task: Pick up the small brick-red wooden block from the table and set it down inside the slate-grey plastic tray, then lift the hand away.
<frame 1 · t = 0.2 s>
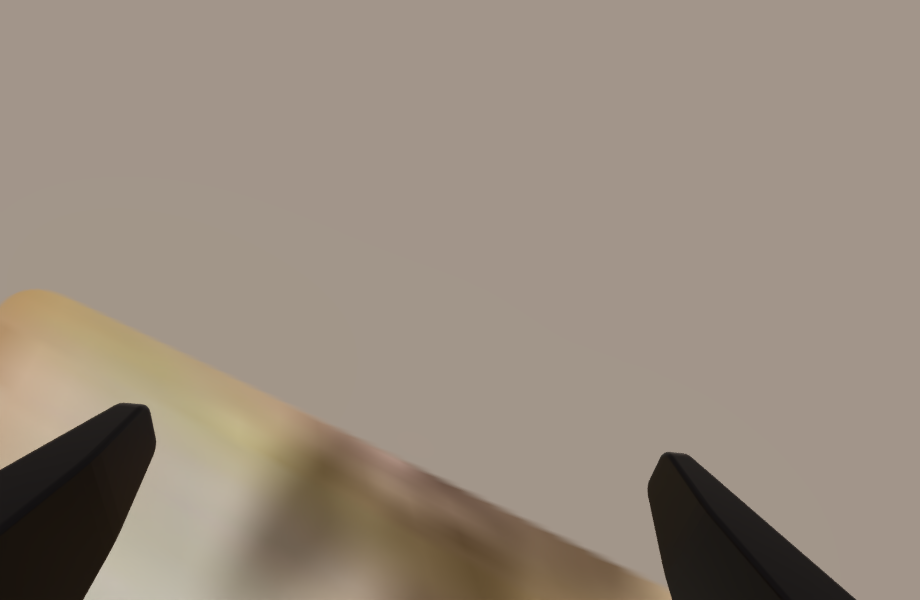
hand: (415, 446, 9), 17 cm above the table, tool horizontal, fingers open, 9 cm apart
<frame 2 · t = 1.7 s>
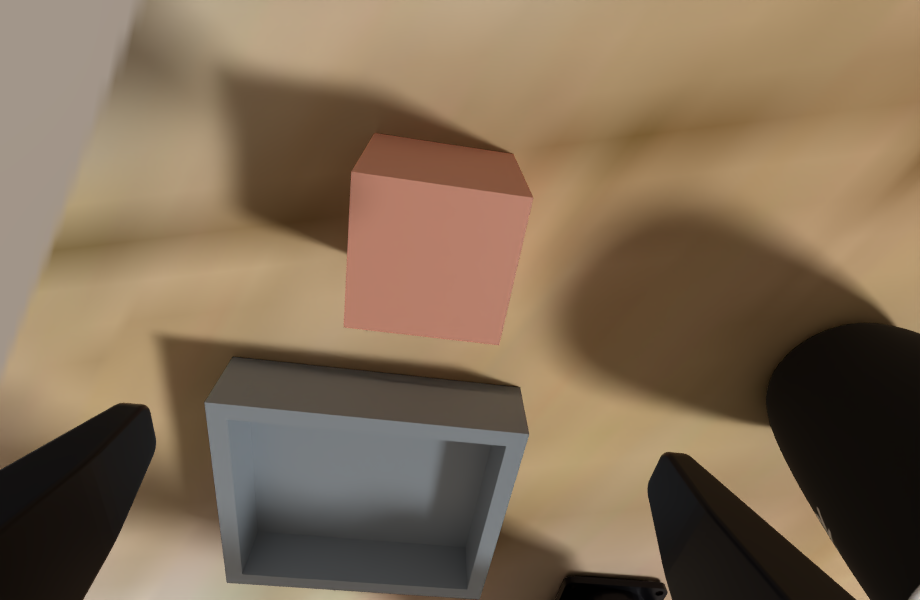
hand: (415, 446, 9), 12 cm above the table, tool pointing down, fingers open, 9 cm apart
tray: (371, 465, 26), on the table
red block: (435, 209, 19), on the table
mug: (853, 386, 24), on the table
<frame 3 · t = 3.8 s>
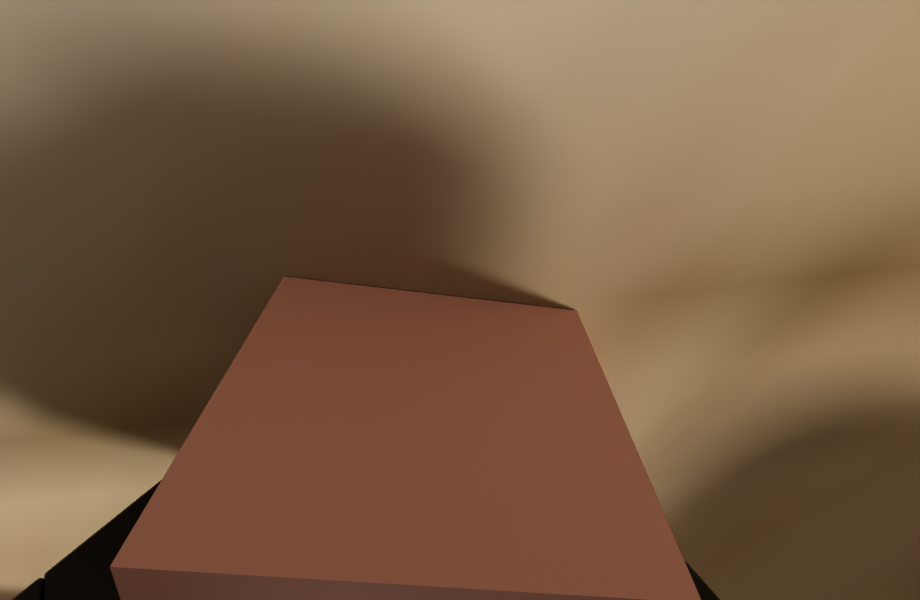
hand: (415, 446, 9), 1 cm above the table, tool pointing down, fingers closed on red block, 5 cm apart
red block: (418, 405, 10), on the table, touching gripper
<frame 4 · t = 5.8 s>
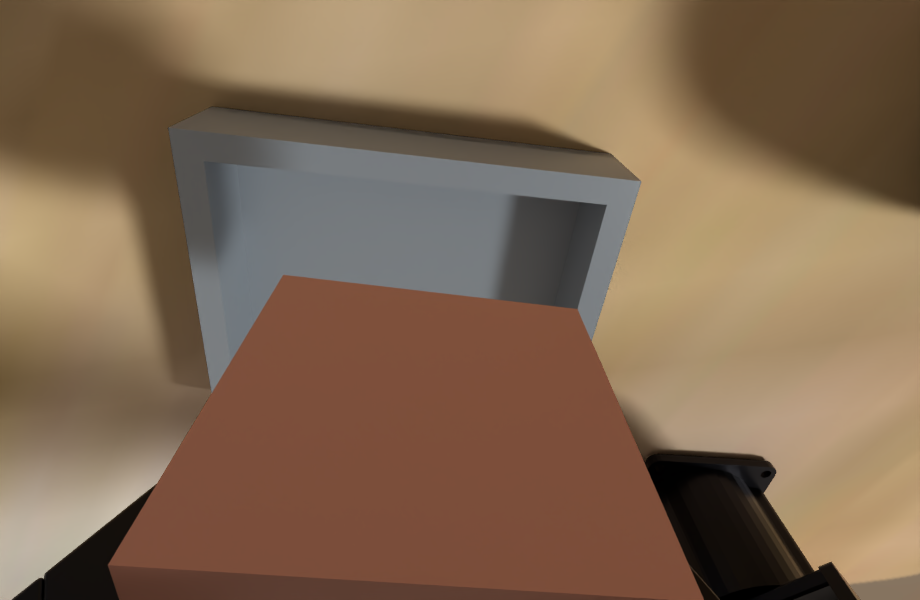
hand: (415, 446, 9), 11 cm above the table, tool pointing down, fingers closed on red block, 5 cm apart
tray: (406, 290, 20), on the table
red block: (418, 404, 10), point 10 cm above the table, touching gripper
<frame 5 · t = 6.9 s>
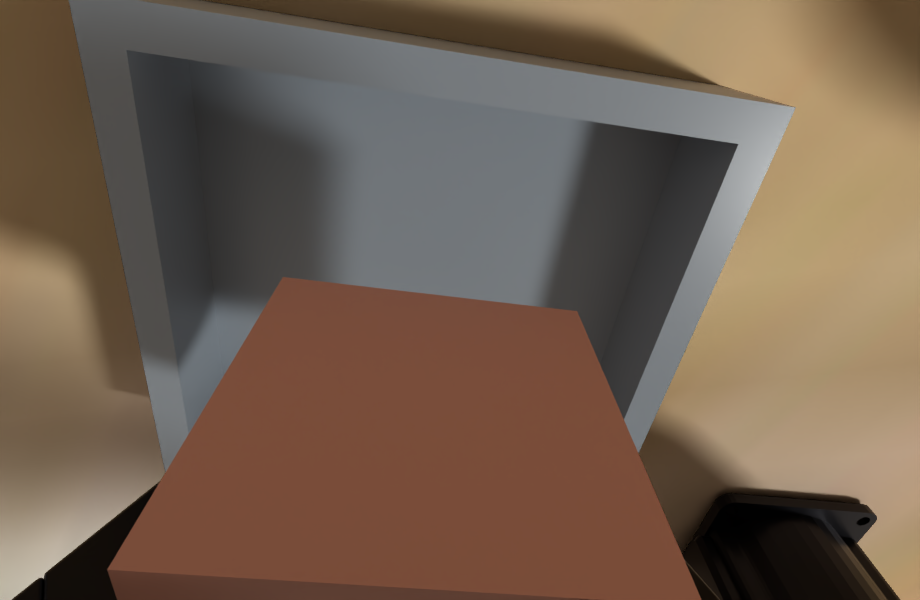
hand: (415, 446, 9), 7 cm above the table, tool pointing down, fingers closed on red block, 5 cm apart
tray: (424, 273, 15), on the table
red block: (418, 406, 10), point 6 cm above the table, touching gripper
when the fingers open (4 cm above the table, at t = 7.8 s): red block drops 2 cm, resting on tray.
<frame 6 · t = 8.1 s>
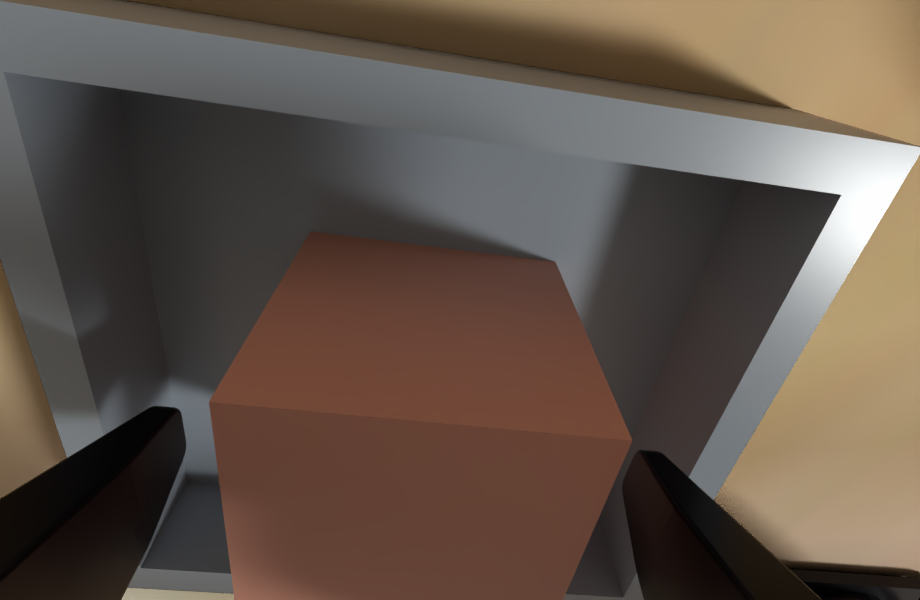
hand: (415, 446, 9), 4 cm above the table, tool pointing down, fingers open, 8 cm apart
tray: (422, 331, 12), on the table
red block: (422, 346, 12), point 1 cm above the table, touching tray
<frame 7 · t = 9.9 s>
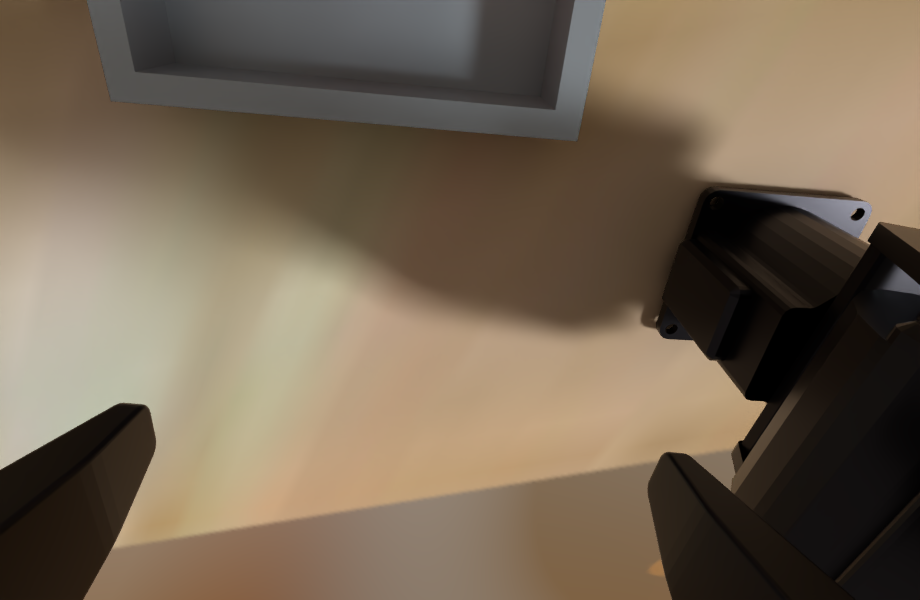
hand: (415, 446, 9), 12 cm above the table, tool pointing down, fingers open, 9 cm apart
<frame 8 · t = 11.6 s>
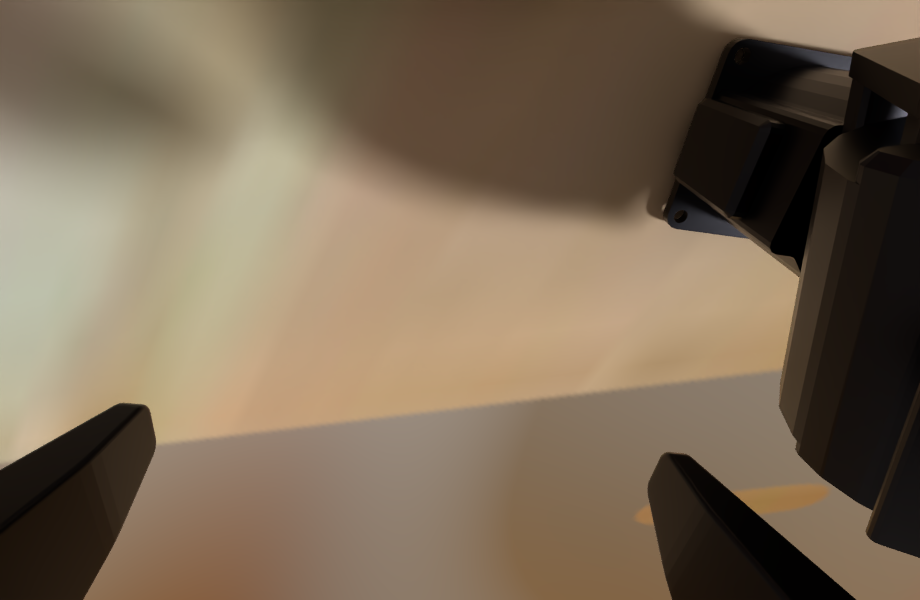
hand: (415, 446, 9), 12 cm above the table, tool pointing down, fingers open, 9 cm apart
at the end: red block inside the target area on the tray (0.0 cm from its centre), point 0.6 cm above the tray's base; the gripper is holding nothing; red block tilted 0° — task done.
